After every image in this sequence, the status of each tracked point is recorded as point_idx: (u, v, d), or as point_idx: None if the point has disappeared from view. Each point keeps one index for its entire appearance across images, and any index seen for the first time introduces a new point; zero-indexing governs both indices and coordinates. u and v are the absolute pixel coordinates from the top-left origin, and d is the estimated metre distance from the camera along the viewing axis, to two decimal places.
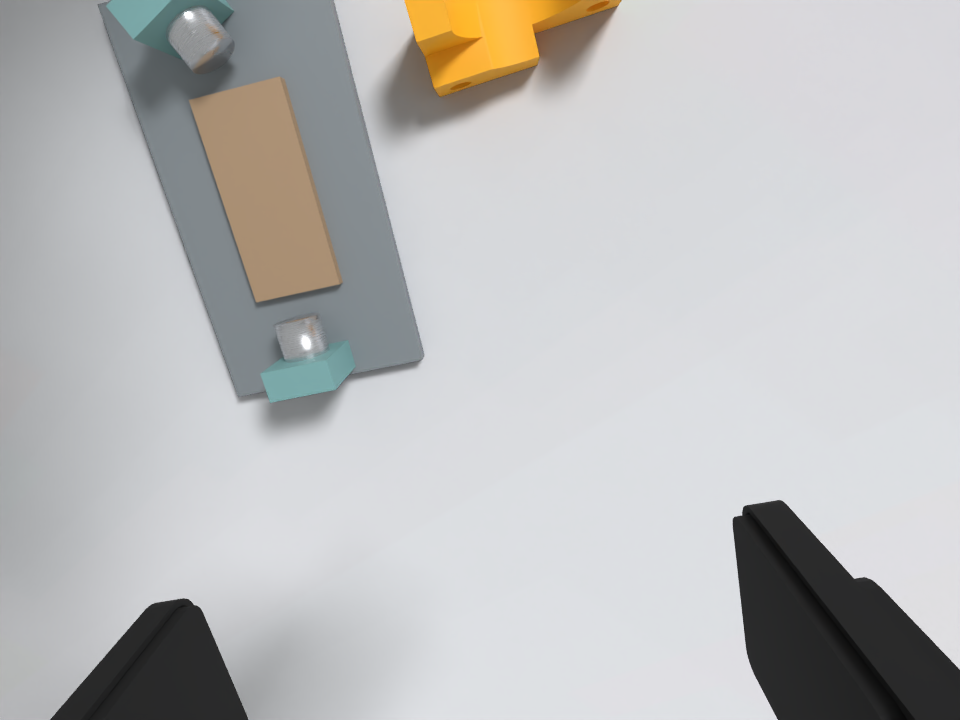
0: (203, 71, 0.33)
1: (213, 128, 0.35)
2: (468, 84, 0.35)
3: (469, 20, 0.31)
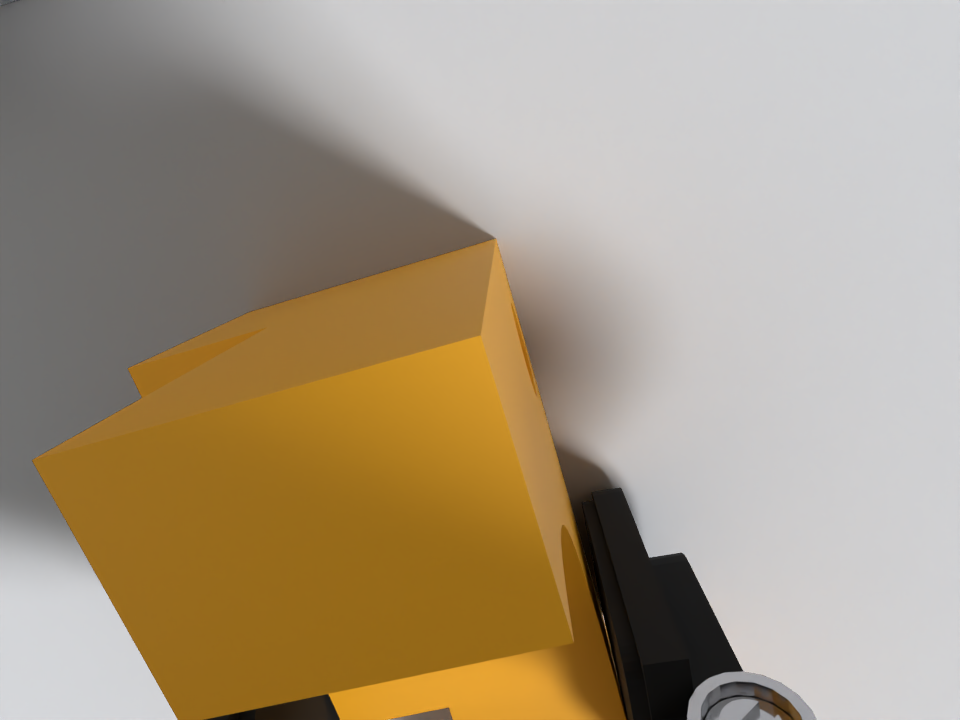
0: None
1: None
2: None
3: None
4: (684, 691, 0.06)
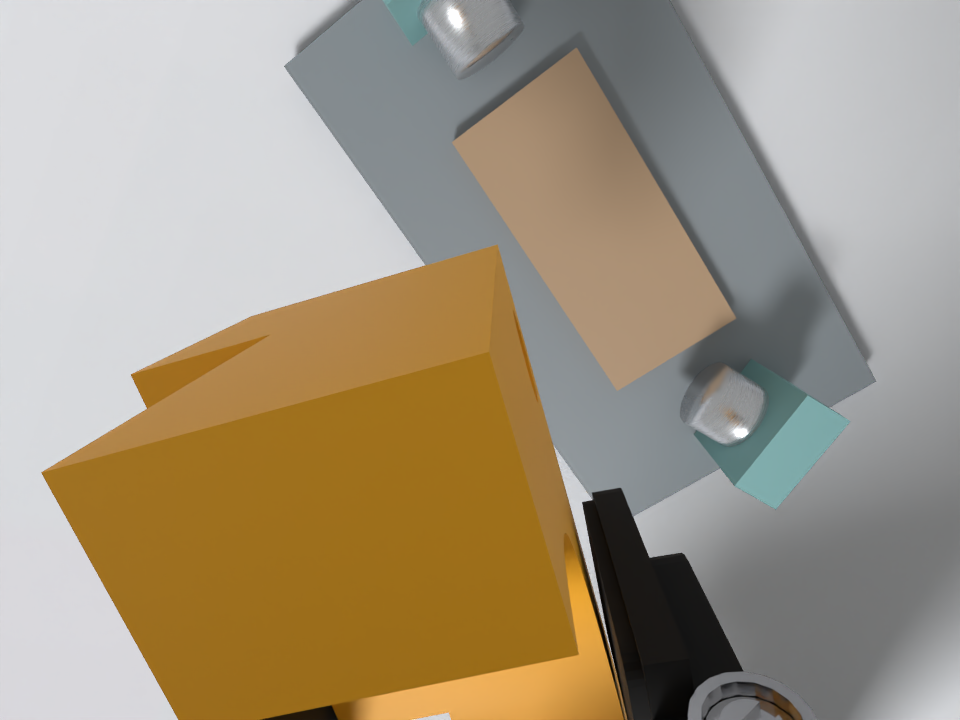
0: (716, 367, 0.24)
1: (695, 295, 0.24)
2: None
3: None
4: (684, 691, 0.06)
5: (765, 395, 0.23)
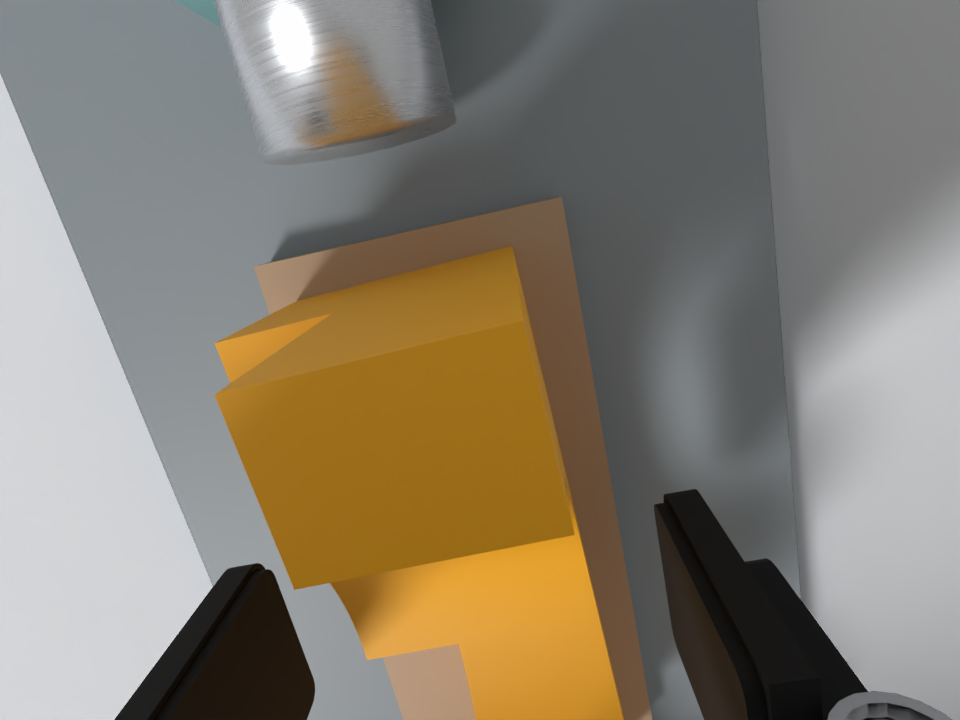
0: None
1: None
2: None
3: None
4: (812, 713, 0.06)
5: None
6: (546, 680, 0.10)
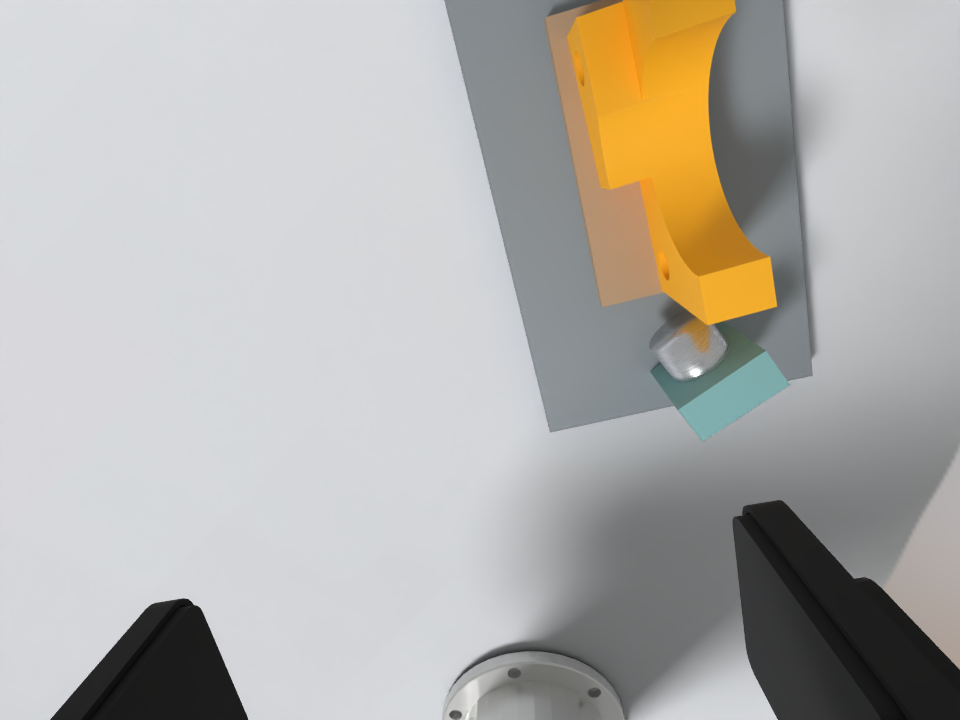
0: None
1: None
2: (581, 82, 0.24)
3: (665, 77, 0.21)
4: None
5: (727, 346, 0.26)
6: (691, 188, 0.23)
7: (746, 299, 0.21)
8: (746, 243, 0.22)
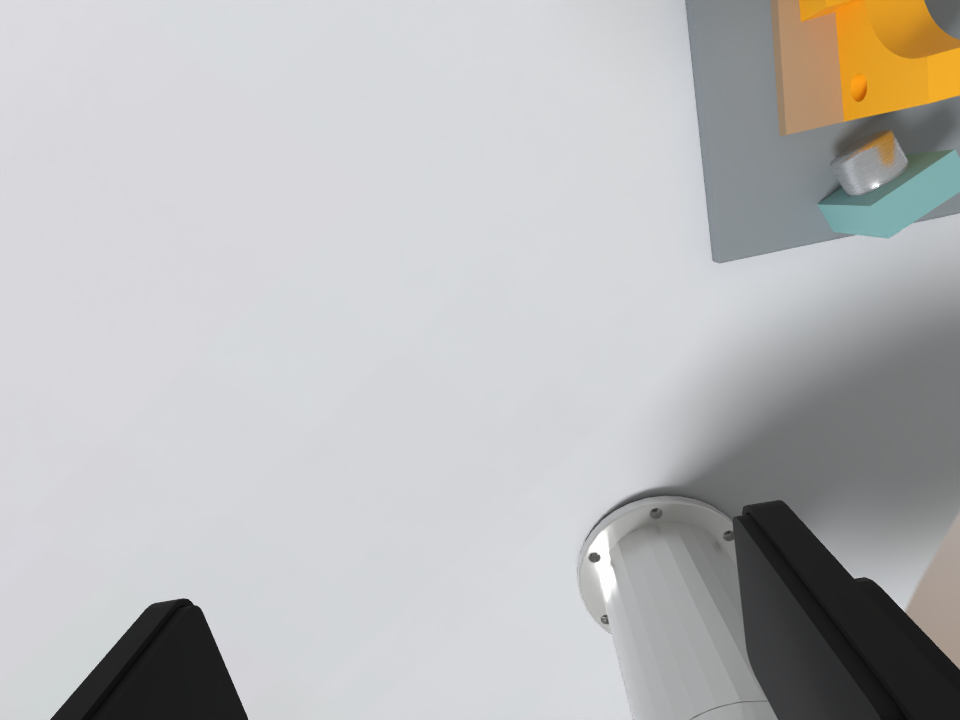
0: (874, 134, 0.30)
1: None
2: None
3: None
4: None
5: None
6: (898, 7, 0.27)
7: None
8: (957, 41, 0.25)
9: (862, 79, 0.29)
